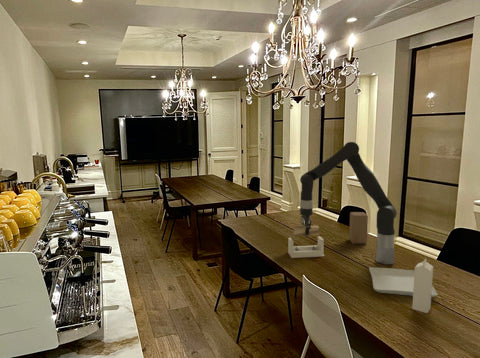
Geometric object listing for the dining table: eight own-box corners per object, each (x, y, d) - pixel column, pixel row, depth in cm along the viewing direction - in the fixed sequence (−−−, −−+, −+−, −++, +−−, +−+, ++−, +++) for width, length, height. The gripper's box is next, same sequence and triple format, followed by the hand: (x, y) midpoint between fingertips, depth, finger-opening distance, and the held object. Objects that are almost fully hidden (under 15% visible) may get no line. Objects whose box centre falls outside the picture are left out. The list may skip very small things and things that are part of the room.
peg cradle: (324, 256, 211) (324, 240, 209) (291, 257, 209) (291, 242, 207) (319, 250, 221) (319, 235, 219) (287, 252, 219) (287, 237, 217)
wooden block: (363, 239, 241) (364, 211, 238) (367, 244, 231) (368, 215, 228) (348, 239, 242) (349, 211, 239) (352, 244, 232) (352, 215, 229)
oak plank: (319, 234, 211) (319, 227, 211) (295, 236, 210) (295, 228, 209) (316, 232, 216) (316, 225, 215) (293, 233, 214) (293, 226, 214)
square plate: (423, 277, 180) (423, 270, 179) (438, 302, 154) (438, 294, 153) (368, 272, 187) (368, 265, 187) (373, 295, 161) (373, 288, 161)
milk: (430, 308, 149) (434, 259, 146) (427, 313, 144) (431, 263, 141) (415, 303, 153) (418, 256, 150) (411, 309, 148) (415, 260, 145)
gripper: (315, 209, 204) (315, 237, 206) (308, 204, 218) (308, 230, 220) (303, 209, 203) (303, 237, 206) (297, 204, 217) (297, 230, 220)
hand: (306, 233), depth 213 cm, fingers closed on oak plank, 4 cm apart
